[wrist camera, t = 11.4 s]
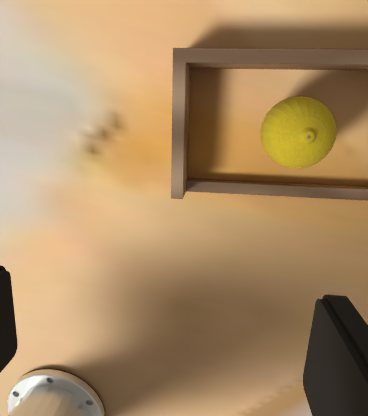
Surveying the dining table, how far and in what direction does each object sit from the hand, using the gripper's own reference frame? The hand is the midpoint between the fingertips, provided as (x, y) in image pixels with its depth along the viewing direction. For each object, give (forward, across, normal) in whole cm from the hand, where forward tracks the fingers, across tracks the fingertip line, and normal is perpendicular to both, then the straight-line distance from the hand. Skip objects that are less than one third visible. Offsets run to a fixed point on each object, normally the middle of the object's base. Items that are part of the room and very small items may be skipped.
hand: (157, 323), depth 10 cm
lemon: (+23, -8, -5) cm, 25 cm away
